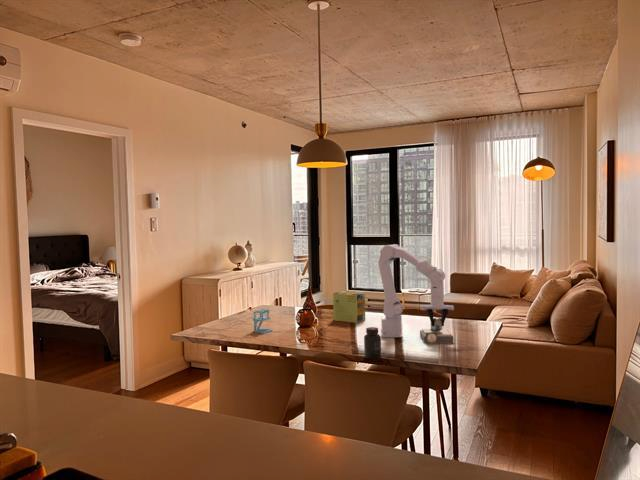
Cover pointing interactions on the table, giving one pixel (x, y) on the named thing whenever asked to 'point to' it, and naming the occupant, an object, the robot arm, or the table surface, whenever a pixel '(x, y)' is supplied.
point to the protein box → (349, 306)
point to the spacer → (437, 323)
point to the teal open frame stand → (261, 321)
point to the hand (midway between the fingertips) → (437, 325)
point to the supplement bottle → (372, 343)
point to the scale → (436, 336)
